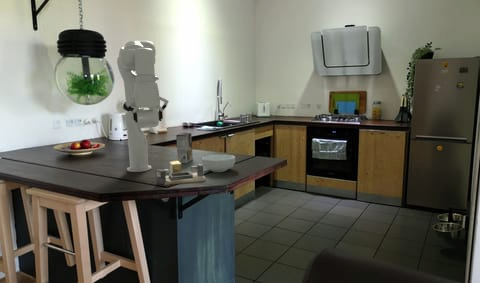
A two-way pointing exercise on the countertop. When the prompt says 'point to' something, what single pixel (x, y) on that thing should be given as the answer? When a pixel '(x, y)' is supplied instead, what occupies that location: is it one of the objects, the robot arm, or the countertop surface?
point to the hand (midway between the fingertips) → (148, 121)
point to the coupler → (175, 167)
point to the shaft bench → (180, 176)
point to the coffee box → (184, 147)
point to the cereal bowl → (218, 162)
